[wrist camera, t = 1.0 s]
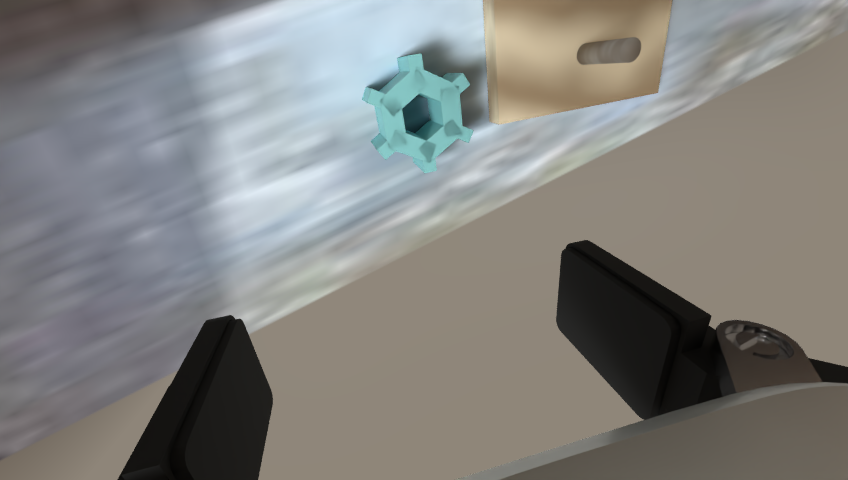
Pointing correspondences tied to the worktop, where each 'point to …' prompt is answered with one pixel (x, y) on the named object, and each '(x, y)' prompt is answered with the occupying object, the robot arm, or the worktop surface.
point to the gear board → (571, 53)
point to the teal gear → (440, 104)
